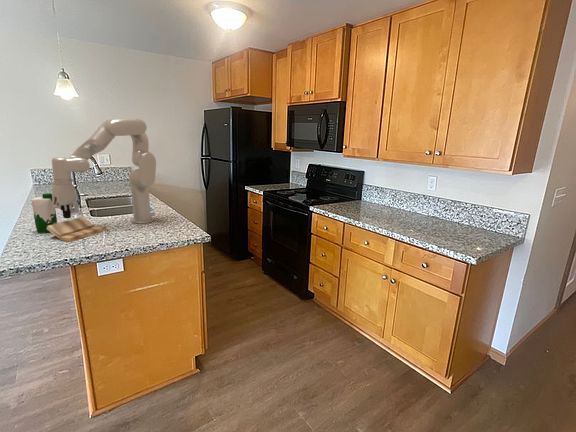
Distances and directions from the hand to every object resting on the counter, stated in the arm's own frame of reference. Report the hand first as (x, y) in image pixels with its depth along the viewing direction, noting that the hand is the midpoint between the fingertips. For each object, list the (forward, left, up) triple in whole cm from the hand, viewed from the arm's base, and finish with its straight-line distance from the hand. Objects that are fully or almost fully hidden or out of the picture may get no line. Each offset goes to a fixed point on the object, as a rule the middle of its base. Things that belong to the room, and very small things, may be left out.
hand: (67, 217), depth 164 cm
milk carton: (+1, -14, -9) cm, 16 cm away
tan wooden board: (0, +1, -6) cm, 6 cm away
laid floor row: (0, +9, -9) cm, 13 cm away
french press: (-34, -38, -9) cm, 52 cm away
